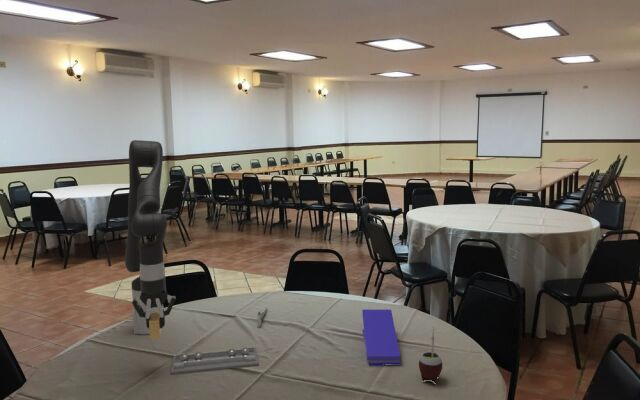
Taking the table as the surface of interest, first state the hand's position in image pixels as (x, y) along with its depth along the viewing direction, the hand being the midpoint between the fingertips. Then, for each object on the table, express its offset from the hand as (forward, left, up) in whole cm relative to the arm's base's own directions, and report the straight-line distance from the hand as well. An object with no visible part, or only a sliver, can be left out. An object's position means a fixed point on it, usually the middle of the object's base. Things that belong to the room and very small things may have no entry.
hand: (155, 327), depth 165 cm
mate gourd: (+83, -25, -15) cm, 88 cm away
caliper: (+37, +37, -15) cm, 55 cm away
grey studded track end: (+25, +2, -14) cm, 28 cm away
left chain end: (+12, +2, -14) cm, 18 cm away
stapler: (+75, 0, -15) cm, 76 cm away
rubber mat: (+18, +2, -14) cm, 23 cm away
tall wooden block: (0, 0, -2) cm, 2 cm away
